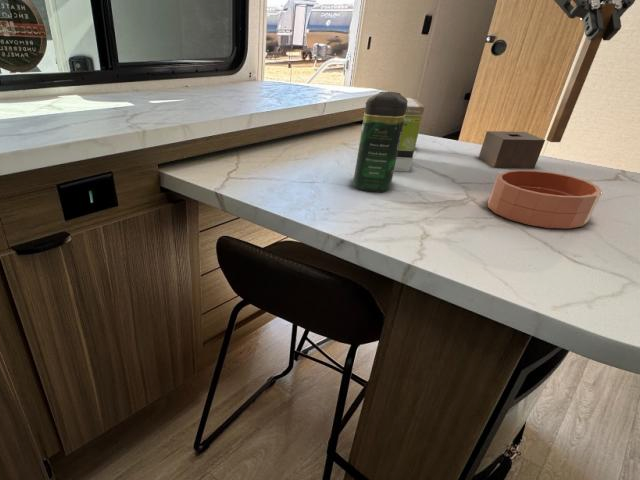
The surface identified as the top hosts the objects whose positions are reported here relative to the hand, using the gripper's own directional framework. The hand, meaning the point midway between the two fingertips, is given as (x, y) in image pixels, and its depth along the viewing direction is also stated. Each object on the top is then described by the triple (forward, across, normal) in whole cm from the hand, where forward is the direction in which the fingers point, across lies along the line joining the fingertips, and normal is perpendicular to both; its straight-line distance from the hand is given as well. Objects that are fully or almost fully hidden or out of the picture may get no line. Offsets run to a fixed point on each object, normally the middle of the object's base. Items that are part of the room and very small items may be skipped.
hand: (603, 35), depth 63 cm
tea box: (-1, -21, +41) cm, 47 cm away
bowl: (+22, -1, +18) cm, 28 cm away
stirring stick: (+10, 0, +13) cm, 16 cm away
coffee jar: (+12, -28, +28) cm, 41 cm away
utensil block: (-3, +9, +43) cm, 44 cm away
